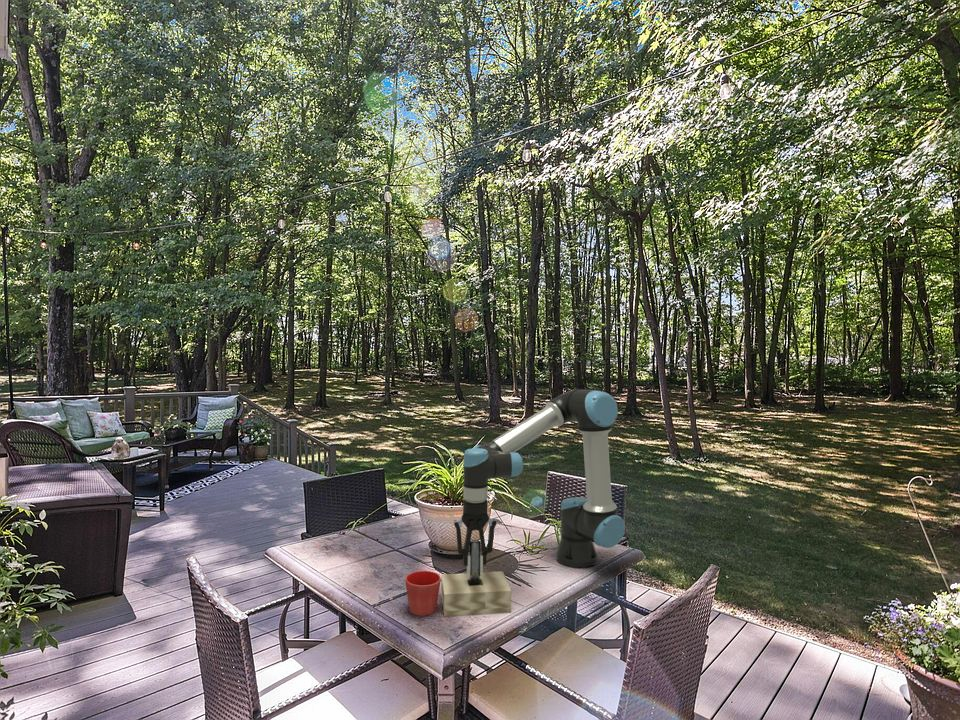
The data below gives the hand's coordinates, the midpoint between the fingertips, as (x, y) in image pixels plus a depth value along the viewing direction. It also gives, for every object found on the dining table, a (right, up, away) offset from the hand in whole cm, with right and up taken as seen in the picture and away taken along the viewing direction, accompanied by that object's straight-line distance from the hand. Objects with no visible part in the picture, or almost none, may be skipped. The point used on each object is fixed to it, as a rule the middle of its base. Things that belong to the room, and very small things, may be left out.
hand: (474, 575), depth 162 cm
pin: (0, -4, 0) cm, 4 cm away
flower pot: (-16, -9, -4) cm, 18 cm away
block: (0, -9, 0) cm, 9 cm away
